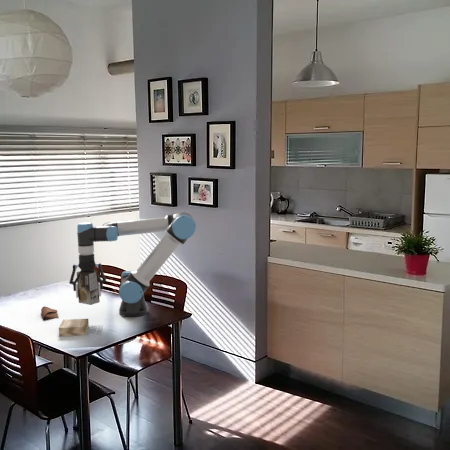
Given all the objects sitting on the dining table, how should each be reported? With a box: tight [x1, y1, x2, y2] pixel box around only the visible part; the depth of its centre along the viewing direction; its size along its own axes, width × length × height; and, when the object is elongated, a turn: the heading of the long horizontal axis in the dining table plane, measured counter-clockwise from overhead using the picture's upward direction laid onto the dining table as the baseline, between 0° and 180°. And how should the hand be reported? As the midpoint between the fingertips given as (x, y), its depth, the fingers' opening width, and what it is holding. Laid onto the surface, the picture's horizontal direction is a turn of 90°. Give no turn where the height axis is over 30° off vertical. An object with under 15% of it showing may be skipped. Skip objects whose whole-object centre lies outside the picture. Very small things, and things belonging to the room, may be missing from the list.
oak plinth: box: [58, 318, 90, 337], centre depth 241 cm, size 12×12×4 cm
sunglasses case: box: [40, 306, 60, 321], centre depth 266 cm, size 18×7×7 cm
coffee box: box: [76, 270, 101, 306], centre depth 254 cm, size 9×6×16 cm
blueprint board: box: [56, 324, 104, 338], centre depth 241 cm, size 20×14×1 cm
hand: (88, 296), depth 255 cm, fingers closed on coffee box, 10 cm apart
